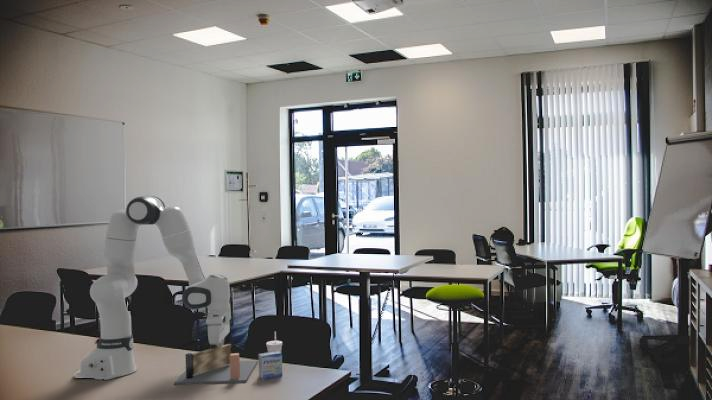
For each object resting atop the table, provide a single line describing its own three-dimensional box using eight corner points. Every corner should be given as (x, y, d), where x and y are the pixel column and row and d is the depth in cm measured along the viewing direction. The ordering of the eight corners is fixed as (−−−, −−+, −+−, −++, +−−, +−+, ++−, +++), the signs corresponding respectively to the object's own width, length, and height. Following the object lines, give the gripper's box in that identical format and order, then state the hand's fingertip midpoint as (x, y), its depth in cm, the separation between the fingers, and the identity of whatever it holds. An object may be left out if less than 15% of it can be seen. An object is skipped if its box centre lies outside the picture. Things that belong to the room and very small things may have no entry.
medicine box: (262, 379, 199) (261, 356, 199) (258, 376, 203) (257, 353, 203) (282, 376, 203) (282, 352, 203) (278, 372, 207) (278, 350, 207)
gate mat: (174, 384, 197) (174, 382, 197) (193, 364, 221) (193, 362, 221) (246, 382, 197) (246, 380, 197) (257, 362, 221) (257, 360, 221)
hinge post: (185, 380, 200) (184, 355, 200) (187, 378, 203) (186, 353, 203) (191, 380, 200) (191, 354, 200) (193, 378, 203) (193, 353, 203)
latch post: (230, 381, 198) (229, 355, 198) (232, 379, 201) (231, 353, 201) (238, 381, 198) (237, 355, 198) (240, 378, 201) (239, 353, 201)
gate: (194, 374, 202) (193, 354, 202) (190, 373, 204) (189, 353, 204) (232, 363, 216) (231, 344, 216) (228, 362, 217) (227, 343, 217)
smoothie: (280, 370, 210) (278, 333, 210) (264, 369, 211) (263, 333, 211) (285, 364, 216) (284, 329, 216) (270, 364, 218) (269, 329, 217)
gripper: (217, 310, 227) (218, 343, 227) (204, 321, 206) (205, 357, 206) (232, 310, 227) (233, 343, 227) (221, 320, 206) (222, 357, 206)
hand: (220, 350), depth 217 cm, fingers closed
